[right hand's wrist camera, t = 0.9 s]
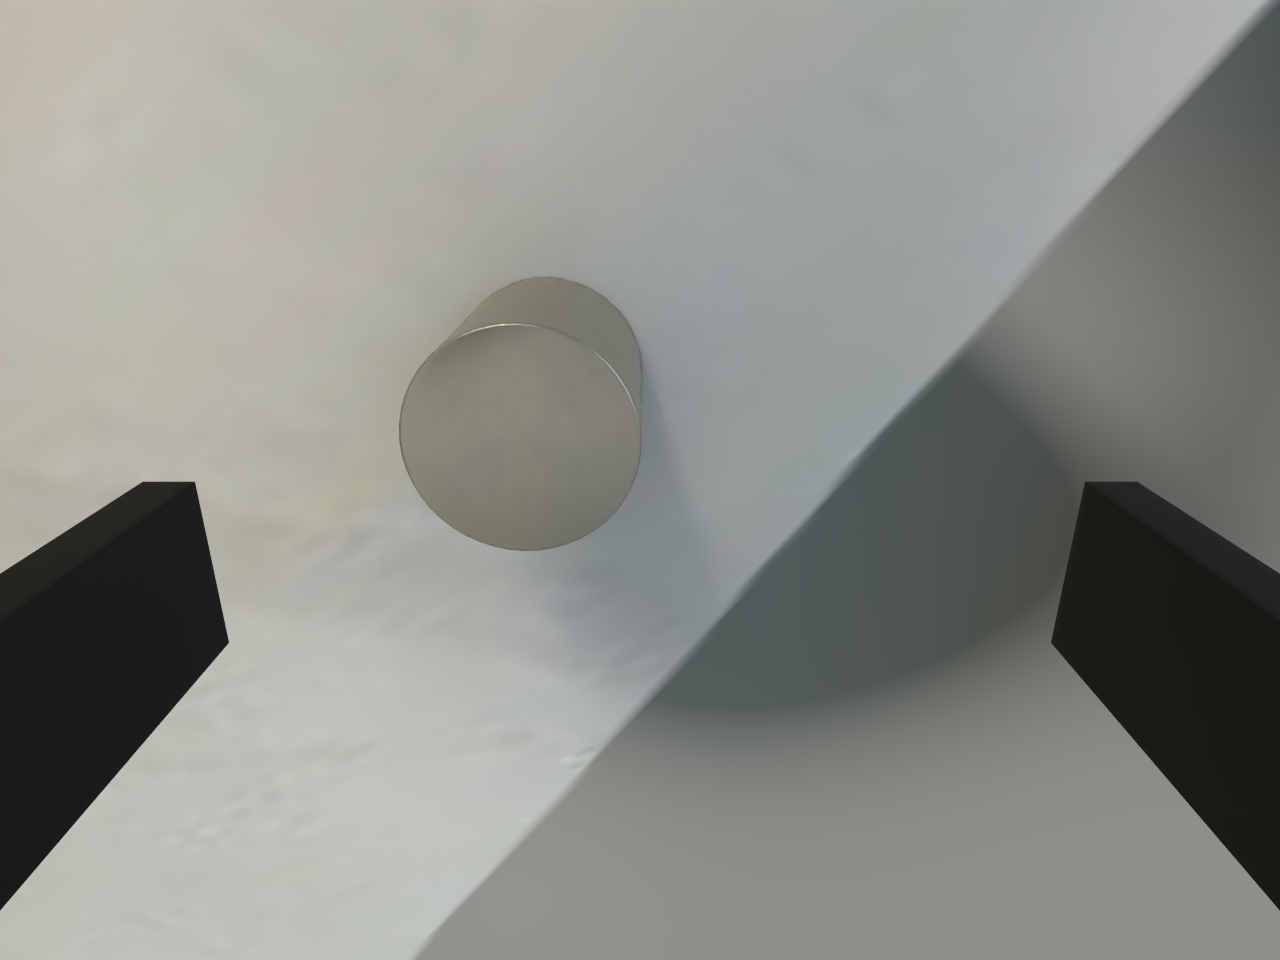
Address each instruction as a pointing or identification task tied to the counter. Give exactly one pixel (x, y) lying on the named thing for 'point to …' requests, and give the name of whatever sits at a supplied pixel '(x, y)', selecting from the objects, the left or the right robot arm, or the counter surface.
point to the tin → (528, 417)
